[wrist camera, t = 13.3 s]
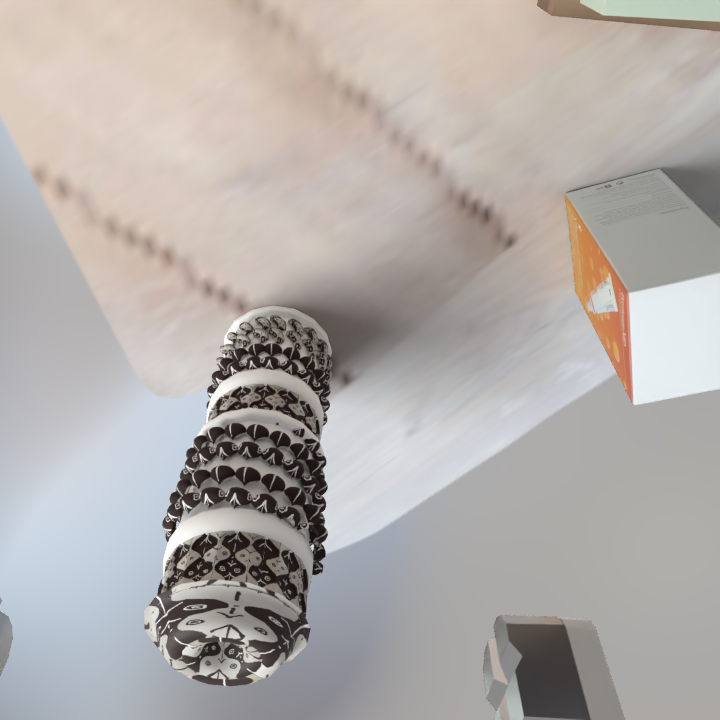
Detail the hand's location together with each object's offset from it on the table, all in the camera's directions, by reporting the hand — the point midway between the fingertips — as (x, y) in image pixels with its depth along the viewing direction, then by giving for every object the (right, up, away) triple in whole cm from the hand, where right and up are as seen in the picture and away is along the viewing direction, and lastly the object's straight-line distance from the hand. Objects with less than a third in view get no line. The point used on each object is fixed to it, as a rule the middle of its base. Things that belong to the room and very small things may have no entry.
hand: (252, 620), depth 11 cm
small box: (+19, +13, +34) cm, 41 cm away
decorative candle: (-5, +5, +40) cm, 41 cm away
